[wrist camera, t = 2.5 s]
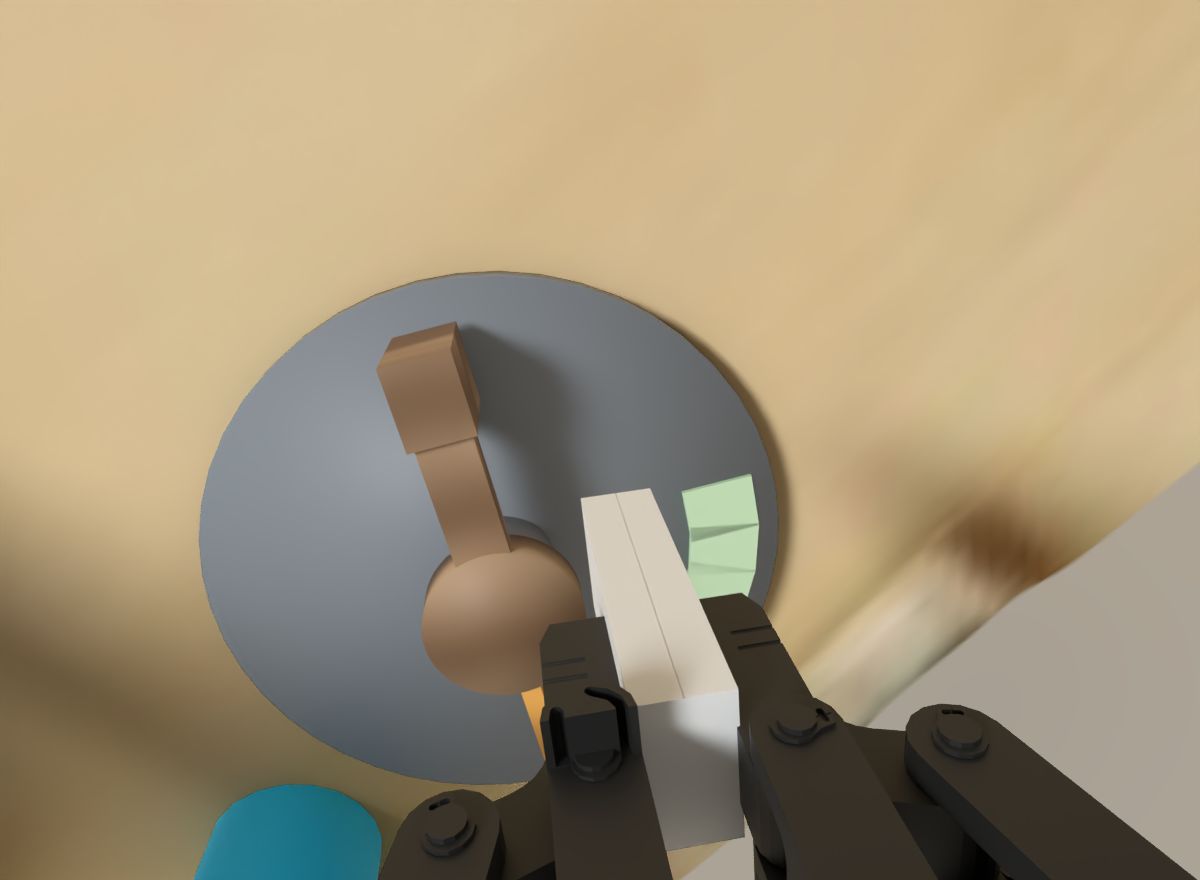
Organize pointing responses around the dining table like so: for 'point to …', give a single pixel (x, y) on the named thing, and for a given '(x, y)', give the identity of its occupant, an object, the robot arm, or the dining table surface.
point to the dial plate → (409, 521)
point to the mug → (293, 838)
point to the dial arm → (473, 531)
